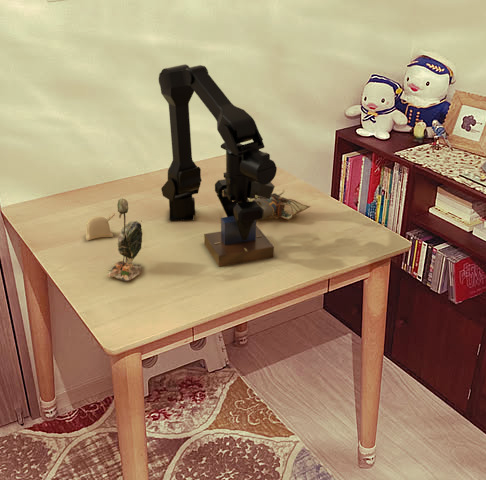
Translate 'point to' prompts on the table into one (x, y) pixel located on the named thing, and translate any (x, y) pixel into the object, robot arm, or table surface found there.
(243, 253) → the brown slab
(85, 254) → the table surface
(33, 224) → the table surface
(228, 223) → the blue block
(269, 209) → the figurine
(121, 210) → the plant with pod
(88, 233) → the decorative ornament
